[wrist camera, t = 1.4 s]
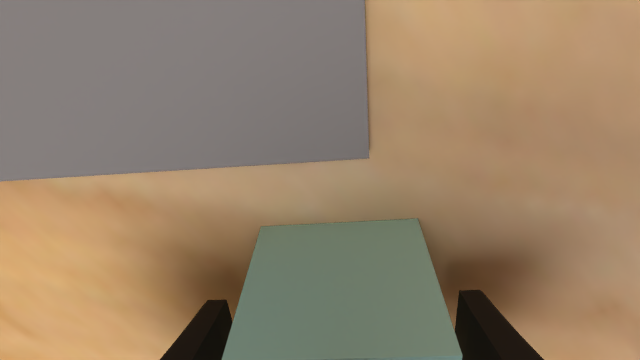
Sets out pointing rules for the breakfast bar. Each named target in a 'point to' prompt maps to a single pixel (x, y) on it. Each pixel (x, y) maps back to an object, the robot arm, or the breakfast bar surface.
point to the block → (342, 296)
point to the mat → (179, 85)
